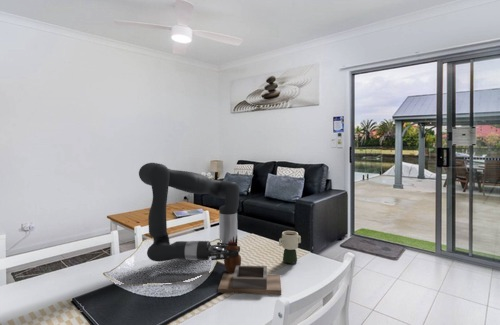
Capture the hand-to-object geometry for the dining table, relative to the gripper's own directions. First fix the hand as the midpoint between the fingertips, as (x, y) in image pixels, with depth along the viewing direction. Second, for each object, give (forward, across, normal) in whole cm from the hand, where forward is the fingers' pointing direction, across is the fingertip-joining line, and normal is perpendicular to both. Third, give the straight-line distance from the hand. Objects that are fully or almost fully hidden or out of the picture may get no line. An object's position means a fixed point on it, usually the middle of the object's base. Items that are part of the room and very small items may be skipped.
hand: (239, 251), depth 116 cm
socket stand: (+5, -11, +8) cm, 15 cm away
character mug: (+21, +11, +9) cm, 26 cm away
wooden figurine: (-3, 0, +9) cm, 9 cm away
